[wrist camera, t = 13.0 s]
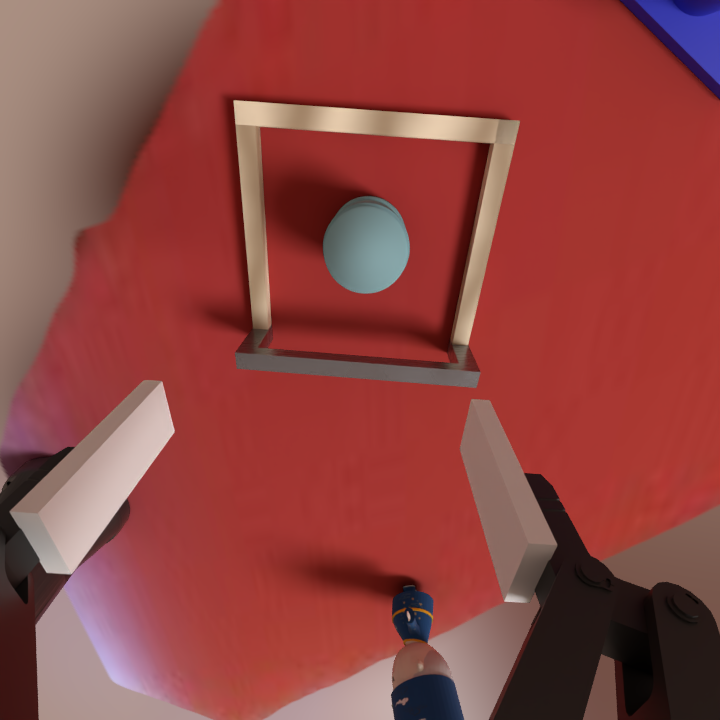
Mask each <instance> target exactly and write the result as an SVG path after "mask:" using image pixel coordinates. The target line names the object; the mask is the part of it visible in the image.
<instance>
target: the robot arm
mask: <svg viewBox="0 0 720 720" xmlns="http://www.w3.org/2000/svg"><path fill="white" fill-rule="evenodd" d="M174 432H175V431H174V427H173V423H172V419H171V415H170V411H169V407H168V403H167V399H166V395H165V391H164V387H163V383H162V381H152V380H144V381H143V382H142V383H141V384H140V385H138V386H137V387H136V388H135V389H134V390H133V391H132V392H131V393H130V394H129V395H128V396H127V397H126V398H125V399H124V400H123V401H122V402H121V403H120V404H119V405H118V406H117V407H116V408H115V409H114V410H113V411H112V412H111V413H110V414H109V415H108V416H107V417H106V418H105V419H104V420H103V421H102V422H101V423H100V424H99V425H98V426H96V427H95V428H94V429H93V430H92V431H91V432H90V433H89V434H88V435H87V436H86V437H85V438H84V439H83V440H82V441H81V442H80V443H79V444H78V445H77V446H76V447H67V448H65V449H63V450H62V451H60V452H58V453H57V454H55V455H53V456H52V457H43V458H37V459H33V460H31V461H29V462H27V463H25V464H24V465H23V466H22V467H20V468H19V469H18V470H17V471H16V472H15V473H14V474H12V475H11V476H10V477H9V479H8V480H7V481H6V482H5V484H4V486H3V488H2V492H1V493H0V720H39V719H38V688H37V661H36V632H35V625H36V624H37V622H38V621H39V620H40V618H41V617H42V615H43V614H44V613H45V611H46V610H47V608H48V607H49V606H50V604H51V603H52V602H53V600H54V599H55V597H56V596H57V595H58V593H59V592H60V590H61V589H62V588H63V586H64V585H65V583H66V582H67V581H68V579H69V578H70V577H71V575H72V574H73V573H74V571H75V570H76V569H77V568H78V567H79V566H80V565H82V564H83V563H84V562H85V561H86V560H87V559H89V558H90V557H91V556H92V555H93V554H94V553H96V552H97V551H98V550H99V549H100V548H101V547H102V546H103V545H104V544H106V543H108V542H109V541H110V540H112V539H113V538H114V537H115V536H116V535H117V534H118V533H119V532H120V530H121V529H122V527H123V526H124V524H125V523H126V521H127V520H128V518H129V514H130V507H129V503H128V500H127V497H128V496H129V494H130V493H131V492H132V490H133V489H134V487H135V486H136V485H137V483H138V482H139V480H140V479H141V478H142V476H143V475H144V474H145V472H146V471H147V469H148V468H149V467H150V465H151V464H152V462H153V461H154V460H155V458H156V457H157V456H158V454H159V453H160V451H161V450H162V449H163V447H164V446H165V444H166V443H167V442H168V440H169V439H170V438H171V436H172V435H173V433H174ZM460 451H461V455H462V458H463V461H464V465H465V468H466V472H467V475H468V479H469V482H470V486H471V489H472V492H473V496H474V499H475V503H476V506H477V510H478V513H479V517H480V520H481V523H482V527H483V530H484V534H485V537H486V541H487V544H488V548H489V551H490V554H491V558H492V561H493V565H494V568H495V572H496V575H497V579H498V582H499V585H500V589H501V592H502V596H503V599H504V601H506V602H523V603H530V601H531V599H532V597H533V595H534V593H536V595H537V598H538V601H539V604H540V608H539V610H538V612H537V614H536V616H535V618H534V620H533V622H532V624H531V625H532V626H531V628H530V630H529V632H528V634H527V637H526V639H525V641H524V643H523V645H522V648H521V650H520V652H519V654H518V656H517V659H516V661H515V663H514V666H513V668H512V670H511V672H510V674H509V676H508V679H507V681H506V683H505V685H504V687H503V690H502V692H501V694H500V696H499V699H498V701H497V703H496V705H495V707H494V710H493V712H492V714H491V716H490V718H489V720H583V717H584V713H585V709H586V706H587V702H588V699H589V695H590V691H591V688H592V685H593V681H594V677H595V674H596V670H597V667H598V663H599V660H600V656H601V654H603V655H605V656H608V657H610V658H613V659H614V661H615V679H616V696H617V714H618V720H720V634H719V631H718V627H717V624H716V621H715V619H714V617H713V615H712V613H711V611H710V610H709V609H708V608H707V607H706V605H704V603H703V602H702V601H701V600H700V599H698V598H697V597H696V596H695V595H694V594H692V593H691V592H690V591H688V590H686V589H684V588H682V587H681V586H679V585H676V584H672V583H669V582H661V583H657V584H656V585H655V586H654V587H653V588H652V589H651V590H648V589H646V588H643V587H640V586H637V585H634V584H631V583H629V582H626V581H623V580H620V579H618V578H616V577H614V575H613V574H612V573H611V571H610V570H609V569H608V568H607V567H606V566H605V565H604V564H603V563H601V562H600V561H599V560H597V559H596V558H594V557H591V556H590V554H589V553H588V551H587V549H586V547H585V546H584V544H583V542H582V540H581V538H580V536H579V534H578V533H577V531H576V529H575V527H574V525H573V523H572V521H571V520H570V518H569V516H568V514H567V513H566V512H565V508H564V507H563V505H562V503H561V502H560V501H559V497H558V495H557V493H556V492H555V490H554V488H553V486H552V485H551V484H550V483H549V482H548V481H547V480H546V479H545V478H544V477H543V476H542V475H541V474H528V473H523V470H522V468H521V466H520V464H519V462H518V460H517V458H516V456H515V453H514V451H513V449H512V447H511V445H510V443H509V441H508V438H507V436H506V434H505V432H504V430H503V428H502V426H501V424H500V421H499V419H498V417H497V415H496V413H495V411H494V409H493V406H492V404H491V402H490V400H476V399H471V403H470V407H469V412H468V416H467V420H466V424H465V429H464V433H463V437H462V442H461V446H460Z"/></svg>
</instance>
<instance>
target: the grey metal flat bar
mask: <svg viewBox="0 0 720 720" xmlns="http://www.w3.org/2000/svg"><path fill="white" fill-rule="evenodd" d="M272 340H273V334H272V325H271V326H270V328H269V329H268V330H265V329H252V330H251V331H250V333H249V334H248V335H247V337H246V338H245V340H244V341H243V342H242V344H241V345H240V346H239V348H238V349H237V351H236V352H235V356H236V365H237V369H249V370H261V371H274V372H286V373H299V374H311V375H324V376H336V377H349V378H361V379H374V380H386V381H399V382H411V383H424V384H436V385H449V386H461V387H474V388H476V387H477V383H478V380H479V376H480V370H479V368H478V366H477V363H476V361H475V359H474V357H473V355H472V352H471V350H470V348H469V346H468V345H456V344H452V342H451V339H450V341H449V346H448V351H447V354H448V357H449V360H450V363H445V362H432V361H419V360H407V359H394V358H382V357H369V356H356V355H344V354H331V353H319V352H306V351H293V350H281V349H268V346H269V345H270V343H271V341H272Z"/></svg>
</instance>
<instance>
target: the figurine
mask: <svg viewBox="0 0 720 720" xmlns="http://www.w3.org/2000/svg"><path fill="white" fill-rule="evenodd" d="M403 591H404V592H402V593H399V594H397V595H396V596H395V597H394V598H393V604H392V621H393V623H394V625H395V628H396V630H397V632H398V633H399V635H400V636H401V638H402V640H403V643H404V645H405V646H404V647H403V648H402V649H401V650H400V651H399V652H398V654H397V655H396V657H395V660H394V665H393V672H392V683H393V692H392V694H391V698H392V707H393V712H394V719H395V720H464V717H463V714H462V710H461V706H460V702H459V699H458V695H457V691H456V687H455V684H454V682H453V679H452V675H451V671H450V669H449V667H448V665H447V663H446V661H445V660H444V658H443V657H442V656H441V655H440V654H439V653H438V652H437V651H436V650H435V649H434V648H433V647H431V646H430V645H428V644H427V643H428V638H429V633H430V629H431V623H432V621H433V599H432V598H431V597H430V596H429V595H428V594H426V593H424V592H420V591H417V590H415V586H414V585H409V586H404V587H403Z"/></svg>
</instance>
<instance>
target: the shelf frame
mask: <svg viewBox="0 0 720 720" xmlns="http://www.w3.org/2000/svg"><path fill="white" fill-rule="evenodd" d="M234 112H235V124H236V135H237V147H238V159H239V170H240V182H241V194H242V205H243V217H244V229H245V240H246V252H247V264H248V275H249V287H250V299H251V310H252V322H253V329H265V330H268V329H269V328H270V326H271V308H270V291H269V274H268V257H267V240H266V223H265V206H264V189H263V172H262V155H261V138H260V127H270V128H283V129H297V130H311V131H325V132H338V133H352V134H366V135H380V136H393V137H407V138H421V139H435V140H448V141H462V142H476V143H489V144H490V148H489V152H488V157H487V162H486V167H485V172H484V177H483V182H482V187H481V192H480V197H479V201H478V206H477V211H476V216H475V221H474V226H473V231H472V236H471V241H470V245H469V250H468V255H467V260H466V265H465V270H464V275H463V280H462V285H461V289H460V294H459V299H458V304H457V309H456V314H455V319H454V324H453V329H452V333H451V338H450V339H451V342H452V344H456V345H468V343H469V338H470V334H471V330H472V325H473V321H474V317H475V313H476V308H477V304H478V300H479V295H480V291H481V287H482V282H483V278H484V274H485V270H486V265H487V261H488V257H489V252H490V248H491V244H492V239H493V235H494V231H495V227H496V222H497V218H498V214H499V209H500V205H501V201H502V196H503V192H504V188H505V184H506V179H507V175H508V171H509V166H510V162H511V158H512V153H513V149H514V145H515V141H516V136H517V132H518V128H519V123H520V121H514V120H500V119H487V118H473V117H459V116H445V115H431V114H417V113H403V112H389V111H376V110H362V109H348V108H334V107H320V106H306V105H292V104H278V103H264V102H251V101H237V100H234Z"/></svg>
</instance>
